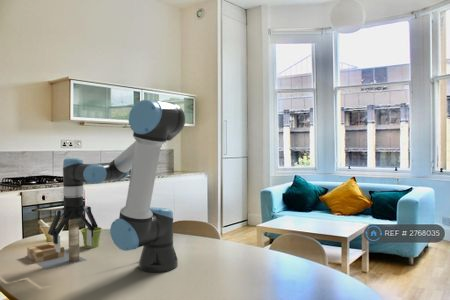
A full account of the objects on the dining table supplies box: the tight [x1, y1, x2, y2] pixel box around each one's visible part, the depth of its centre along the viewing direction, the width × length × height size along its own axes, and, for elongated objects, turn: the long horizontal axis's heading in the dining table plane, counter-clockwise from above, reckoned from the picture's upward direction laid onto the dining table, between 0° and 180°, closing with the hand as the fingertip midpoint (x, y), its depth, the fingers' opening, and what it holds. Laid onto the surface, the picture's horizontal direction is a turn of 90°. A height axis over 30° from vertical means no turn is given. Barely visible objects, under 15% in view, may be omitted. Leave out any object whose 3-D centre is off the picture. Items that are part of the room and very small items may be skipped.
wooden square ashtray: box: [26, 242, 65, 263], centre depth 162 cm, size 11×11×4 cm
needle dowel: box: [68, 222, 80, 263], centre depth 157 cm, size 4×4×16 cm
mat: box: [24, 249, 87, 270], centre depth 160 cm, size 24×16×1 cm, turn 46°
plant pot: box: [80, 226, 103, 249], centre depth 178 cm, size 9×9×9 cm
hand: (74, 248), depth 157 cm, fingers open, 12 cm apart
